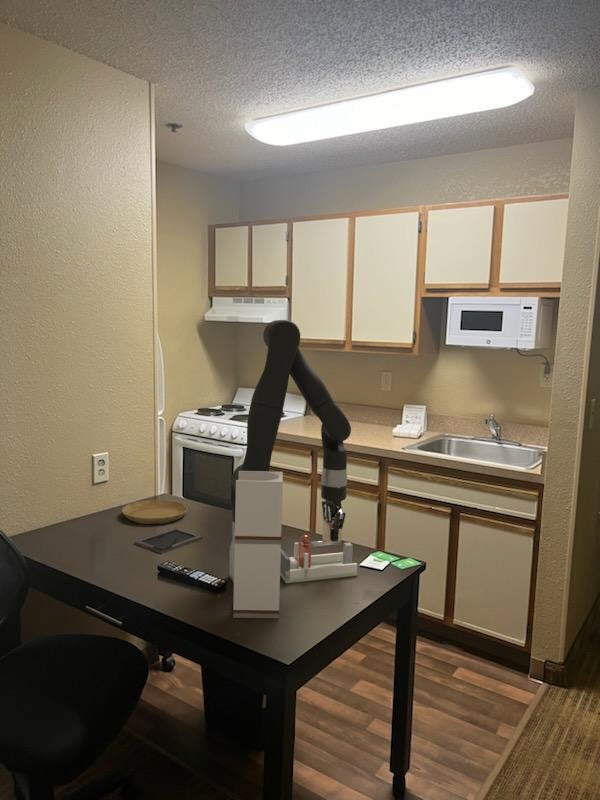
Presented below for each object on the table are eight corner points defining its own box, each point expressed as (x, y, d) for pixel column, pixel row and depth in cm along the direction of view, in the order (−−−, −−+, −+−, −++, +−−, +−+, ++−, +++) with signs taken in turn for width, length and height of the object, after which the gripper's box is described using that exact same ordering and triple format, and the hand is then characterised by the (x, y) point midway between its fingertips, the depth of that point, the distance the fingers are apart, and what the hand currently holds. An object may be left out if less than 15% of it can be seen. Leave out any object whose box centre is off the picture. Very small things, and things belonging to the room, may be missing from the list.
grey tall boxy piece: (278, 599, 163) (282, 471, 159) (278, 618, 153) (282, 481, 148) (236, 598, 163) (238, 470, 159) (233, 617, 152) (235, 480, 148)
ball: (295, 558, 177) (303, 568, 178) (291, 553, 181) (298, 563, 182) (284, 567, 176) (292, 577, 177) (280, 562, 180) (288, 572, 181)
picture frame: (161, 555, 193) (202, 540, 208) (161, 549, 193) (202, 534, 207) (134, 545, 201) (175, 531, 215) (134, 539, 201) (175, 526, 215)
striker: (302, 571, 178) (304, 525, 176) (297, 564, 182) (299, 520, 181) (341, 567, 182) (343, 522, 180) (335, 560, 186) (337, 517, 185)
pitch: (286, 583, 174) (286, 556, 173) (276, 569, 183) (276, 544, 182) (356, 575, 181) (357, 549, 180) (343, 563, 190) (344, 538, 189)
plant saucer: (168, 504, 248) (169, 496, 247) (199, 519, 229) (199, 510, 229) (111, 514, 232) (111, 505, 232) (139, 531, 214) (139, 522, 214)
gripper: (314, 477, 186) (312, 532, 188) (331, 489, 172) (328, 548, 174) (336, 476, 188) (335, 530, 190) (355, 488, 175) (353, 546, 177)
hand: (332, 538), depth 182 cm, fingers closed on striker, 3 cm apart
